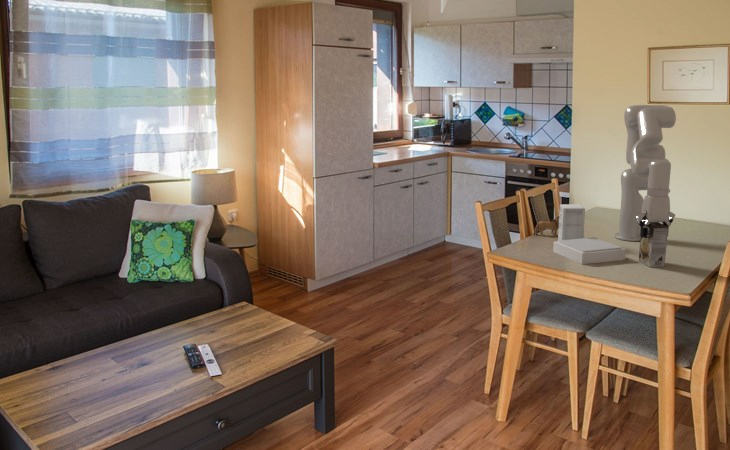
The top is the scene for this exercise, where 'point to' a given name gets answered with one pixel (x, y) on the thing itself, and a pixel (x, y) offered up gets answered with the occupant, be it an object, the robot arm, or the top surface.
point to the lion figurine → (548, 226)
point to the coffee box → (654, 245)
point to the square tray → (589, 250)
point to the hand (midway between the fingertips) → (654, 236)
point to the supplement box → (571, 221)
